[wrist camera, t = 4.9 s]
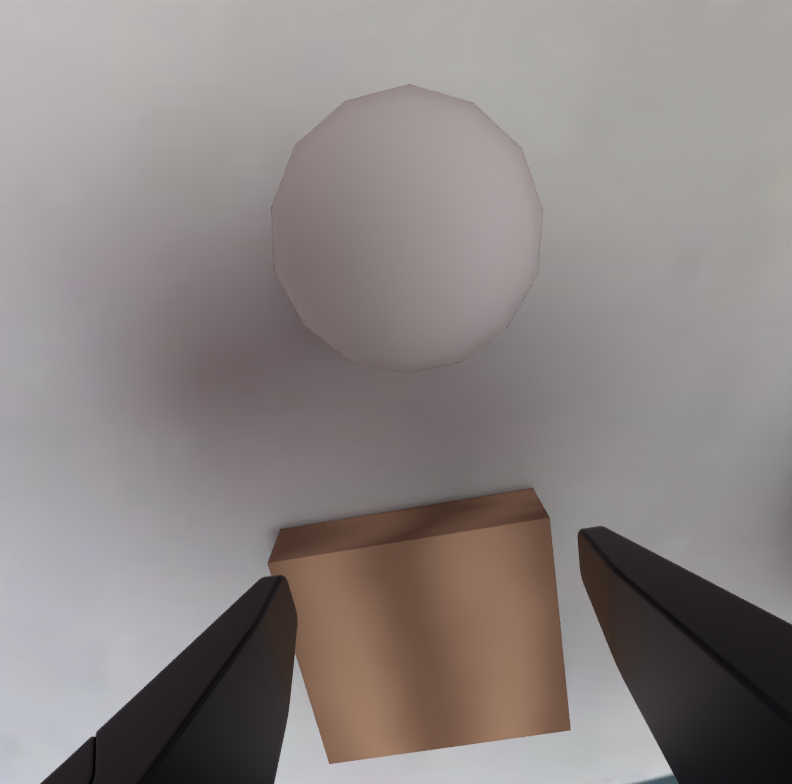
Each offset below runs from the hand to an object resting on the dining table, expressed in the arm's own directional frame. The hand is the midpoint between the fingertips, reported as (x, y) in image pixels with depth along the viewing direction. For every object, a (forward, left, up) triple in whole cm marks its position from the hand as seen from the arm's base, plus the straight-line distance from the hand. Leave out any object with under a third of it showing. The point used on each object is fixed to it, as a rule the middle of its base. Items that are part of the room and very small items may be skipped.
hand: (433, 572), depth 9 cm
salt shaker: (-1, -6, -13) cm, 14 cm away
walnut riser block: (+1, +12, -13) cm, 18 cm away
